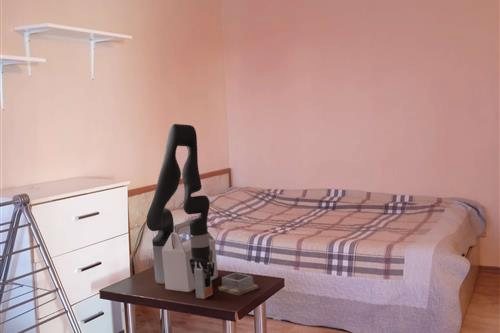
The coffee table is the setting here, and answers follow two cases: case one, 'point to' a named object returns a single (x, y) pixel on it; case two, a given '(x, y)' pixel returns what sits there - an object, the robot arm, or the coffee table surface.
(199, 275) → the skincare box
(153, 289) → the coffee table surface
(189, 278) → the gable box
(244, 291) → the birch board
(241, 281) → the duct collar
